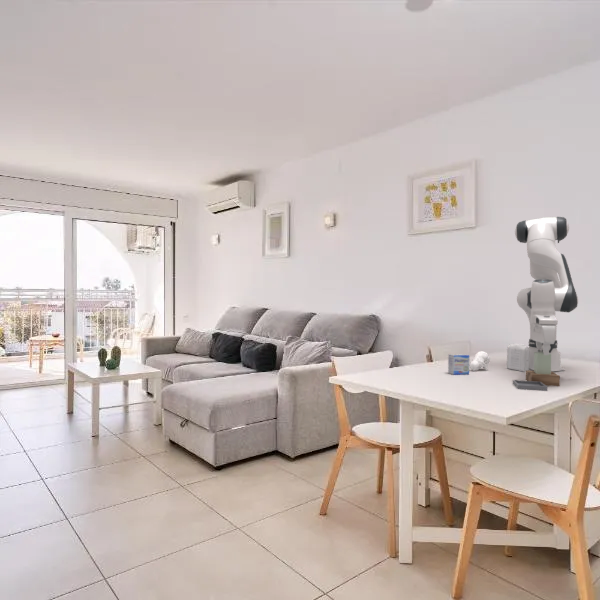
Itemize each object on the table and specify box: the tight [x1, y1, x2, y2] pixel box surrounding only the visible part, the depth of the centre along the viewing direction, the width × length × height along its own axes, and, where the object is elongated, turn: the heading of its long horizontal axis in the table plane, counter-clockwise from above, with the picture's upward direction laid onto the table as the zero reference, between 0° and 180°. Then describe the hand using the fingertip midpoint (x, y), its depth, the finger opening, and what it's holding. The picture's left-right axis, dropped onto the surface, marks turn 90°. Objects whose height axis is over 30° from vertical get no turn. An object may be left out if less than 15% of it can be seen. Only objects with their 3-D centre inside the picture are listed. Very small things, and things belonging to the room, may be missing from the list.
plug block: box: [533, 352, 552, 374], centre depth 183 cm, size 5×5×8 cm
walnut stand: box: [525, 369, 561, 387], centre depth 184 cm, size 10×10×4 cm
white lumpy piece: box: [469, 350, 491, 372], centre depth 213 cm, size 6×8×12 cm
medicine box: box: [447, 353, 470, 376], centre depth 202 cm, size 8×4×9 cm, turn 101°
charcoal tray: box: [512, 379, 549, 392], centre depth 175 cm, size 10×10×2 cm
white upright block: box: [506, 343, 530, 373], centre depth 214 cm, size 10×4×12 cm, turn 28°
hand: (542, 353), depth 183 cm, fingers open, 8 cm apart
